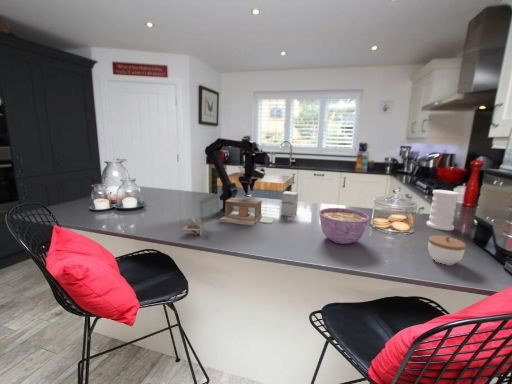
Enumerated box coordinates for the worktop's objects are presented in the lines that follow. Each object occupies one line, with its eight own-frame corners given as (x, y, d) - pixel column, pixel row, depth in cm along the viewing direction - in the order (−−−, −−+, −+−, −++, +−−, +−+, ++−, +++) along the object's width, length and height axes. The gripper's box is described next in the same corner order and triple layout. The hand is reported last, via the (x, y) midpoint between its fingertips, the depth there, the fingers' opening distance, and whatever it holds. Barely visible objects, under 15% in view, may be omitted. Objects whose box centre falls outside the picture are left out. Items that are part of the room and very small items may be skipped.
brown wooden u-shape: (231, 210, 144) (231, 197, 143) (261, 213, 140) (261, 200, 138) (225, 214, 136) (225, 201, 134) (256, 218, 131) (256, 204, 130)
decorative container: (459, 230, 127) (466, 194, 124) (437, 230, 126) (443, 194, 123) (441, 222, 139) (447, 189, 135) (421, 222, 138) (426, 189, 134)
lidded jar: (429, 264, 91) (434, 239, 89) (422, 252, 101) (426, 229, 99) (466, 271, 87) (472, 244, 85) (455, 257, 97) (460, 234, 95)
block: (241, 216, 140) (241, 203, 139) (248, 217, 139) (248, 204, 138) (238, 218, 137) (238, 205, 135) (245, 219, 136) (246, 206, 134)
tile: (263, 217, 140) (263, 216, 139) (275, 218, 138) (275, 217, 138) (258, 222, 131) (258, 221, 131) (271, 223, 129) (271, 222, 129)
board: (232, 213, 145) (232, 210, 145) (261, 216, 141) (261, 213, 141) (220, 221, 131) (220, 218, 131) (253, 225, 126) (253, 222, 126)
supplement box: (280, 215, 144) (281, 193, 142) (284, 212, 151) (285, 190, 148) (293, 217, 142) (295, 194, 139) (297, 213, 148) (298, 192, 146)
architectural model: (199, 238, 110) (198, 221, 109) (183, 236, 111) (183, 220, 110) (201, 235, 114) (201, 218, 112) (186, 234, 115) (186, 217, 113)
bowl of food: (313, 231, 121) (314, 207, 118) (356, 232, 120) (359, 208, 118) (322, 249, 101) (324, 220, 99) (374, 251, 101) (378, 222, 98)
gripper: (259, 166, 130) (258, 197, 133) (268, 163, 147) (267, 190, 151) (238, 165, 133) (237, 195, 136) (249, 162, 151) (249, 188, 154)
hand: (249, 192), depth 144 cm, fingers open, 9 cm apart
